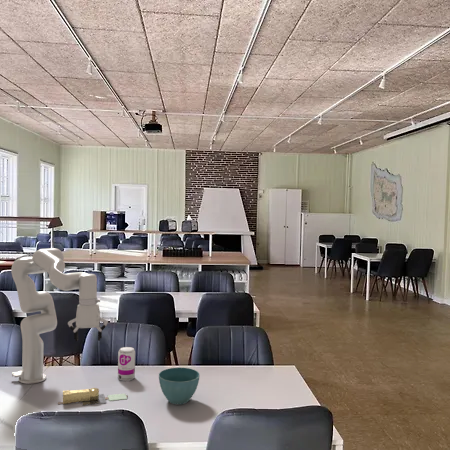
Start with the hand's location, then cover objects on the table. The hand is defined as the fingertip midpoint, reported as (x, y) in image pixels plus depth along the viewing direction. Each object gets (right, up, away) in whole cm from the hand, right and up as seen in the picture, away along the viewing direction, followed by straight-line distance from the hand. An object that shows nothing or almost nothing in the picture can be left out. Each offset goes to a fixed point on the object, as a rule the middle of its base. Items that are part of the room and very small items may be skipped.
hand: (88, 340), depth 219 cm
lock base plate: (+2, -27, +1) cm, 27 cm away
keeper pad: (+12, -27, +4) cm, 30 cm away
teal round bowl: (+40, -28, +3) cm, 49 cm away
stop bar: (-3, -26, -1) cm, 26 cm away
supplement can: (+11, -26, +28) cm, 40 cm away
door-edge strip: (+2, -27, +1) cm, 27 cm away
